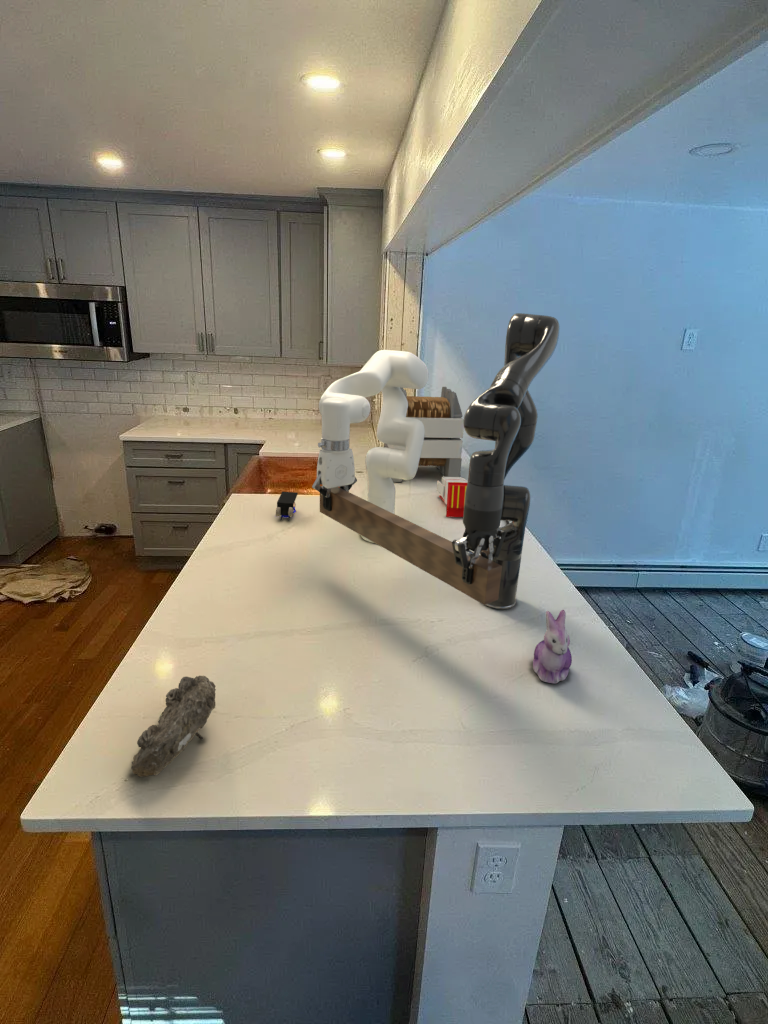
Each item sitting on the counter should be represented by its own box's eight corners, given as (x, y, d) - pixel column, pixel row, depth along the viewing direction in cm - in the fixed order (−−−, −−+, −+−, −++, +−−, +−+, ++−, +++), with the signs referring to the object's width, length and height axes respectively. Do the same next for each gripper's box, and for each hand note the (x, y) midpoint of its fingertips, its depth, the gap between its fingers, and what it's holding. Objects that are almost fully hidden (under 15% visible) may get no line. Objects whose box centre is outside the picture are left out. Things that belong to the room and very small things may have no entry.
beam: (319, 511, 163) (319, 486, 161) (331, 509, 166) (331, 483, 163) (484, 605, 116) (488, 570, 113) (498, 599, 118) (502, 565, 115)
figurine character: (293, 526, 206) (298, 508, 219) (293, 507, 202) (298, 490, 216) (275, 525, 205) (281, 507, 219) (274, 507, 202) (280, 489, 215)
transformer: (382, 463, 289) (386, 382, 275) (445, 464, 293) (451, 384, 279) (390, 482, 257) (394, 392, 243) (460, 483, 261) (468, 394, 247)
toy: (463, 473, 243) (476, 484, 213) (461, 503, 245) (474, 518, 216) (435, 472, 242) (444, 483, 213) (433, 502, 245) (442, 517, 216)
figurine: (551, 690, 120) (562, 629, 115) (520, 664, 128) (528, 606, 123) (584, 679, 124) (596, 619, 119) (551, 654, 132) (561, 597, 127)
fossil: (164, 676, 112) (217, 643, 107) (198, 707, 115) (251, 677, 110) (105, 770, 92) (166, 735, 87) (148, 805, 95) (209, 773, 90)
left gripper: (315, 451, 146) (316, 517, 152) (368, 444, 156) (366, 506, 162) (301, 445, 152) (302, 509, 158) (353, 438, 161) (352, 499, 168)
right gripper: (471, 515, 107) (463, 596, 113) (521, 502, 115) (511, 578, 121) (444, 504, 112) (438, 581, 118) (493, 492, 120) (485, 565, 126)
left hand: (334, 507), depth 160 cm, fingers closed on beam, 4 cm apart
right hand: (475, 579), depth 119 cm, fingers closed on beam, 4 cm apart
